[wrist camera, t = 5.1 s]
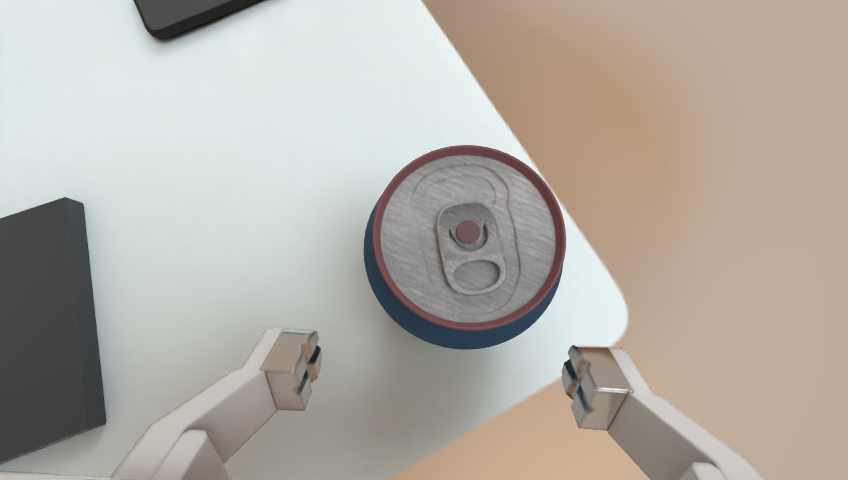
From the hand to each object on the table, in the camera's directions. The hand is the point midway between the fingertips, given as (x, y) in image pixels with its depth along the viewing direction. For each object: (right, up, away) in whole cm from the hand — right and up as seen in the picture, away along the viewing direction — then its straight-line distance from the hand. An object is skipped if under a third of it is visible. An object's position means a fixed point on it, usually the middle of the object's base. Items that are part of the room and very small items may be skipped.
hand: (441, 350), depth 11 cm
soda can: (+1, +1, +11) cm, 11 cm away
